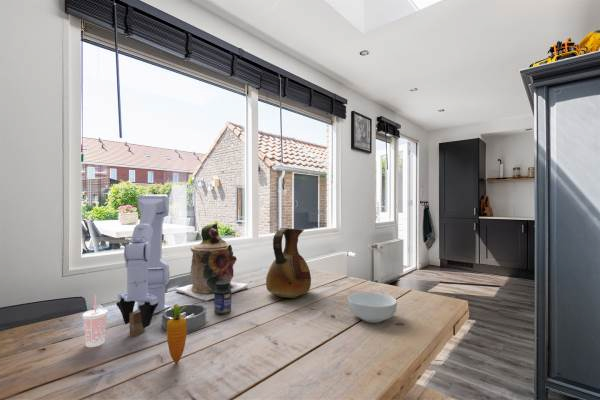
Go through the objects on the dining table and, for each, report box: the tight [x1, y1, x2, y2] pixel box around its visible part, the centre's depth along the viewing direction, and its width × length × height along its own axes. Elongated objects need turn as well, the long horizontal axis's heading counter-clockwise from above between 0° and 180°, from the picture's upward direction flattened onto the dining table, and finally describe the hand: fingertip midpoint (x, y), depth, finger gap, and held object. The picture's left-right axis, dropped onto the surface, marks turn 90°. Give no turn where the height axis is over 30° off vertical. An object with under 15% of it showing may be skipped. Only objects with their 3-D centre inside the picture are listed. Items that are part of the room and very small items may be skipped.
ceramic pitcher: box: [265, 227, 312, 299], centre depth 133 cm, size 20×20×30 cm
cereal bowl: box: [347, 291, 398, 324], centre depth 106 cm, size 17×17×7 cm
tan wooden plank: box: [128, 310, 146, 338], centre depth 94 cm, size 2×4×7 cm, turn 159°
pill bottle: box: [213, 281, 232, 316], centre depth 112 cm, size 6×6×11 cm
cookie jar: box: [175, 221, 249, 302], centre depth 140 cm, size 25×25×32 cm
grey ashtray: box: [161, 303, 208, 332], centre depth 102 cm, size 14×14×4 cm
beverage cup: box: [82, 294, 109, 348], centre depth 87 cm, size 6×6×14 cm
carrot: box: [166, 303, 187, 364], centre depth 77 cm, size 5×5×15 cm
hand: (137, 324), depth 93 cm, fingers open, 7 cm apart
